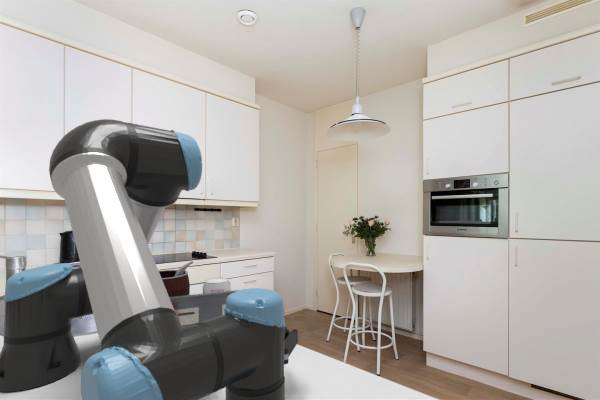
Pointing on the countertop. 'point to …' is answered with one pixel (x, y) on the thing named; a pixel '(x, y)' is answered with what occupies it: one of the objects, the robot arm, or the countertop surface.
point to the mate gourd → (176, 281)
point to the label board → (199, 306)
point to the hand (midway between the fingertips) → (247, 326)
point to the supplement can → (216, 285)
